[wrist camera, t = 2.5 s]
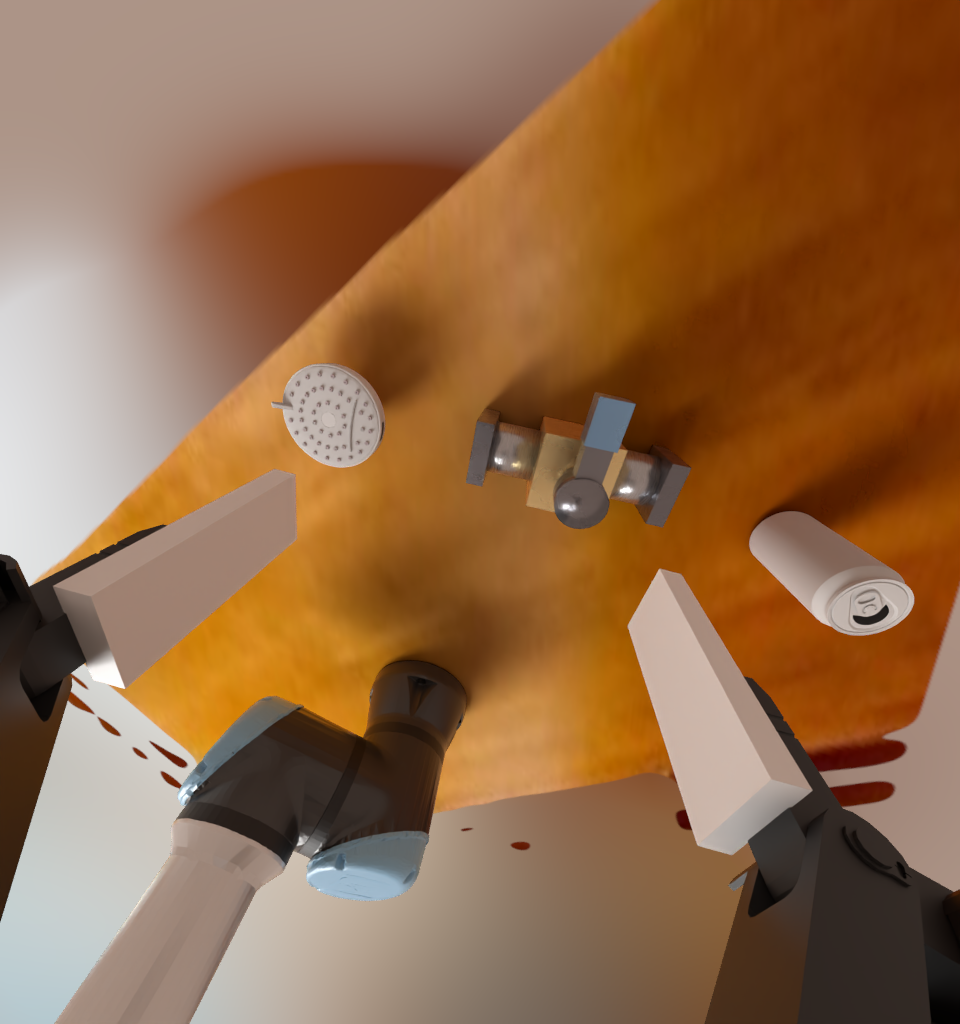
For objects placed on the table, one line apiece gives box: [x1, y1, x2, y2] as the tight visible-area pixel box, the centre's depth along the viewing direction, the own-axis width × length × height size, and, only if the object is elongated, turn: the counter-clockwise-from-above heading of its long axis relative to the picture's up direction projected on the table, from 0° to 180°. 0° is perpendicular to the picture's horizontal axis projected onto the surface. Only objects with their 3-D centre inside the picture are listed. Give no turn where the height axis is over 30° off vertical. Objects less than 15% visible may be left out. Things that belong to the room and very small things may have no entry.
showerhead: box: [272, 363, 385, 467], centre depth 36 cm, size 9×7×10 cm
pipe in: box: [466, 409, 542, 486], centre depth 36 cm, size 6×6×6 cm
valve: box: [526, 416, 627, 512], centre depth 34 cm, size 7×7×10 cm
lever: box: [553, 392, 636, 529], centre depth 27 cm, size 10×4×2 cm, turn 171°
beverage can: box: [749, 511, 914, 635], centre depth 34 cm, size 6×6×12 cm
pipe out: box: [610, 445, 691, 527], centre depth 35 cm, size 6×6×6 cm
